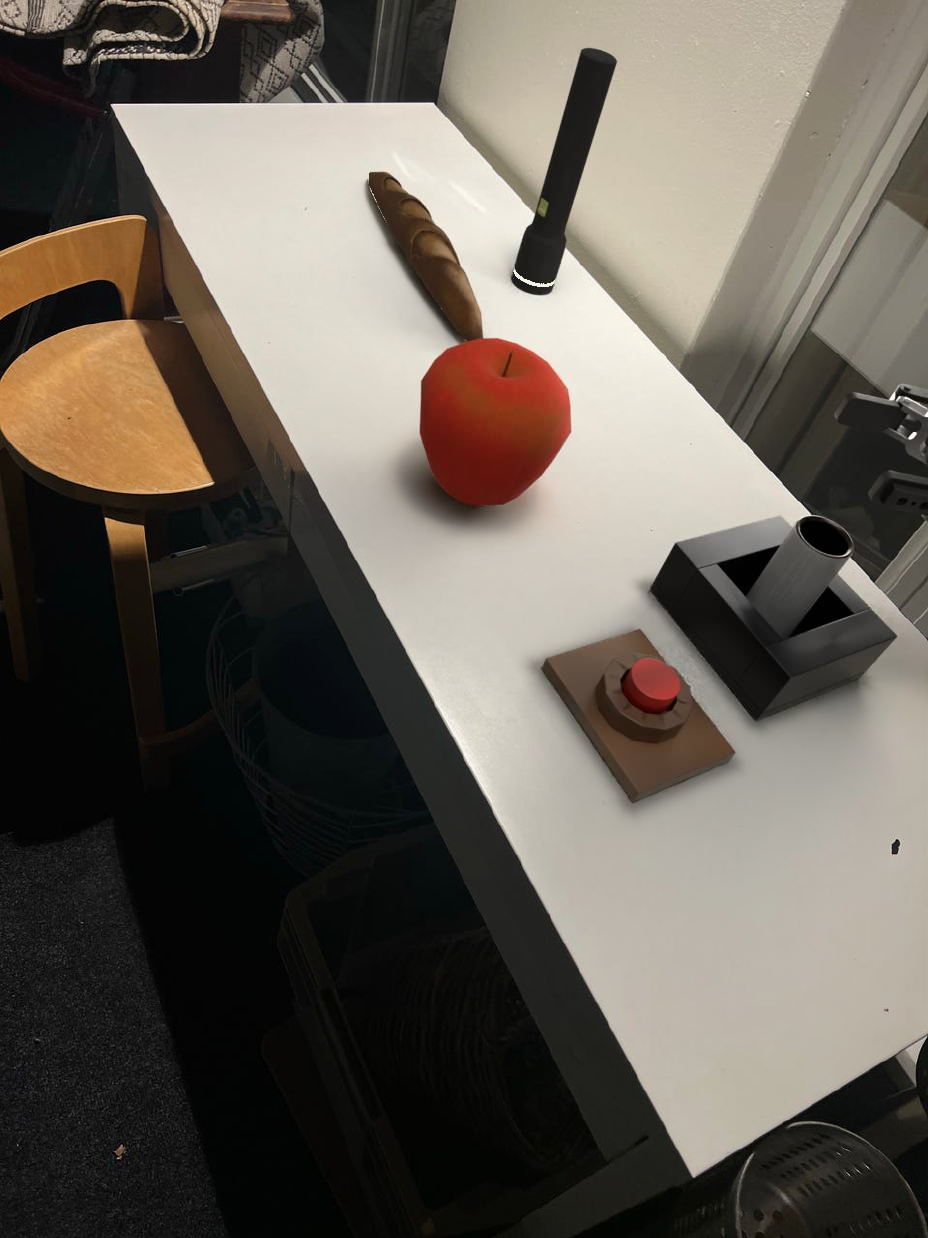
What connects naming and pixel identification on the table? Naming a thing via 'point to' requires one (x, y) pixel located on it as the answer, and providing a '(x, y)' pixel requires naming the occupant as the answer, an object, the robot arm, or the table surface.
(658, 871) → the table surface
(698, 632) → the open-top black bin
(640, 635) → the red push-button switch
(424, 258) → the bread
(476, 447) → the apple
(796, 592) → the dark grey hollow cylinder
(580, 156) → the flashlight
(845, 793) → the table surface
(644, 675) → the button
